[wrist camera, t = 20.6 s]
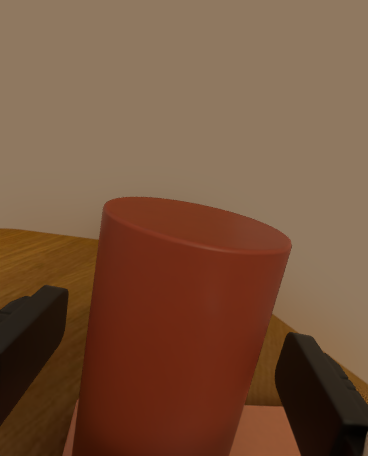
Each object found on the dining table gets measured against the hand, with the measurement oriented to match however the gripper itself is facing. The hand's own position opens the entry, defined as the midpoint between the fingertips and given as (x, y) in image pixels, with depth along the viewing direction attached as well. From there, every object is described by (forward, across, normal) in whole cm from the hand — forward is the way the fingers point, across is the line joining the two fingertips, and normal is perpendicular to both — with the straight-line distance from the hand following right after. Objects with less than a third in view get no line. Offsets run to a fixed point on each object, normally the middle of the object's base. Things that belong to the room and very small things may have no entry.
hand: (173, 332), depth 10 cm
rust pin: (-2, 0, +6) cm, 7 cm away
